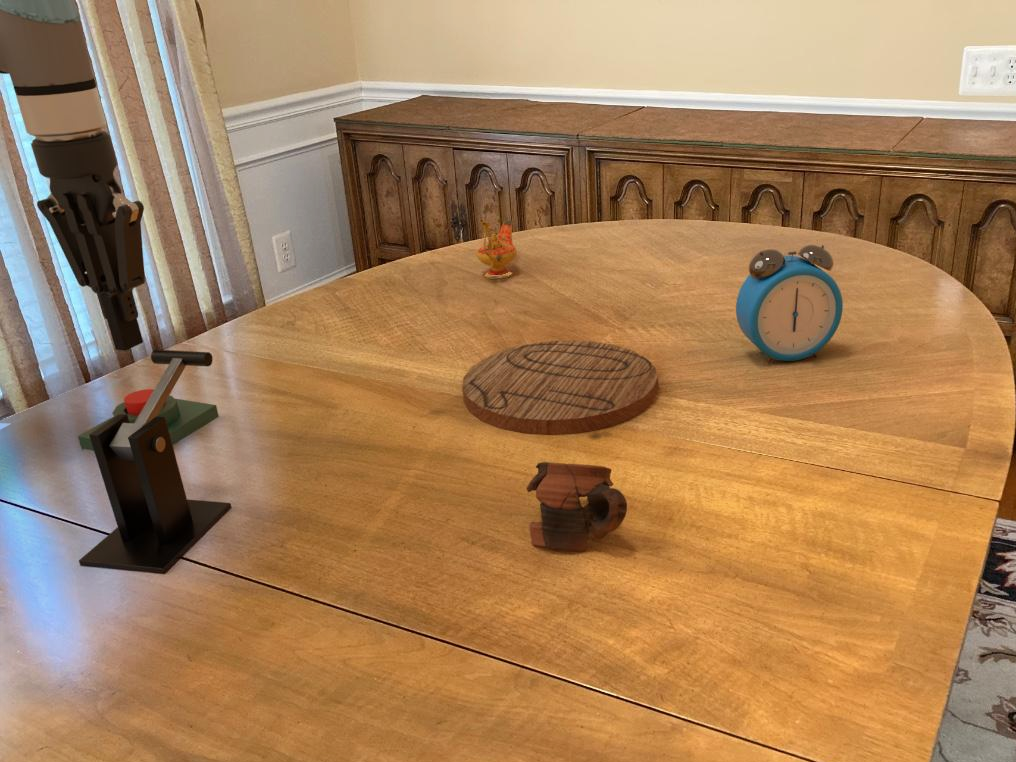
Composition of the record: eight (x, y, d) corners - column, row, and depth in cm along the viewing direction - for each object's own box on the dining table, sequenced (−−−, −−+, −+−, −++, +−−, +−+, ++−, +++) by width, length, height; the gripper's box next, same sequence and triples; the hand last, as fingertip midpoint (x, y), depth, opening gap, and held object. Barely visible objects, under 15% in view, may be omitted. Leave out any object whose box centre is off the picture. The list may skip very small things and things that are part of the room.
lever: (163, 359, 101) (152, 343, 99) (216, 362, 99) (206, 345, 98) (103, 460, 93) (90, 444, 91) (160, 464, 92) (148, 448, 90)
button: (120, 414, 115) (116, 400, 114) (145, 400, 119) (141, 387, 118) (146, 418, 114) (142, 405, 113) (171, 404, 117) (167, 391, 116)
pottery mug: (502, 543, 96) (509, 459, 96) (568, 543, 103) (574, 465, 103) (594, 556, 88) (601, 464, 88) (658, 555, 95) (664, 470, 95)
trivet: (623, 446, 112) (623, 431, 111) (428, 420, 119) (426, 406, 118) (679, 363, 133) (679, 349, 132) (510, 345, 140) (509, 333, 139)
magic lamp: (530, 256, 178) (526, 195, 173) (507, 288, 163) (502, 222, 158) (494, 256, 179) (489, 195, 174) (468, 287, 164) (461, 222, 159)
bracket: (155, 505, 103) (124, 396, 97) (233, 512, 102) (205, 401, 96) (81, 571, 93) (41, 452, 87) (166, 579, 91) (131, 459, 85)
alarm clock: (748, 369, 130) (753, 259, 123) (732, 352, 135) (736, 246, 128) (839, 357, 133) (849, 249, 125) (820, 341, 138) (828, 236, 131)
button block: (82, 452, 115) (72, 422, 113) (157, 410, 125) (149, 381, 123) (148, 465, 111) (139, 434, 110) (220, 420, 121) (213, 391, 119)
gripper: (144, 129, 102) (197, 339, 113) (52, 125, 107) (111, 329, 118) (88, 142, 96) (149, 364, 107) (-8, 138, 100) (60, 352, 112)
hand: (129, 345), depth 112 cm, fingers closed
